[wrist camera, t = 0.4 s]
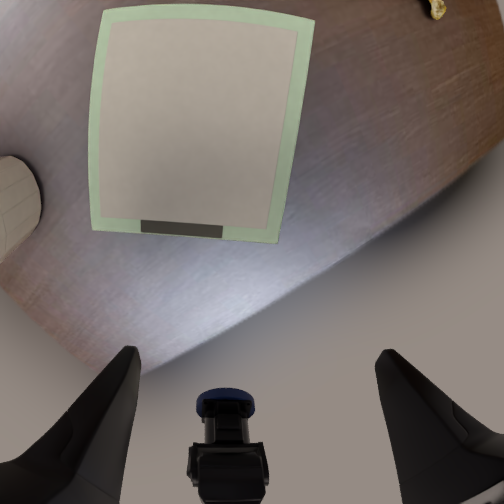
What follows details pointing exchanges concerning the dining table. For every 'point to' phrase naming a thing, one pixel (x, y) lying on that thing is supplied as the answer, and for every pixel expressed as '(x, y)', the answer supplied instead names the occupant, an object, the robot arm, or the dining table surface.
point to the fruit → (437, 9)
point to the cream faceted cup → (17, 204)
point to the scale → (195, 120)
